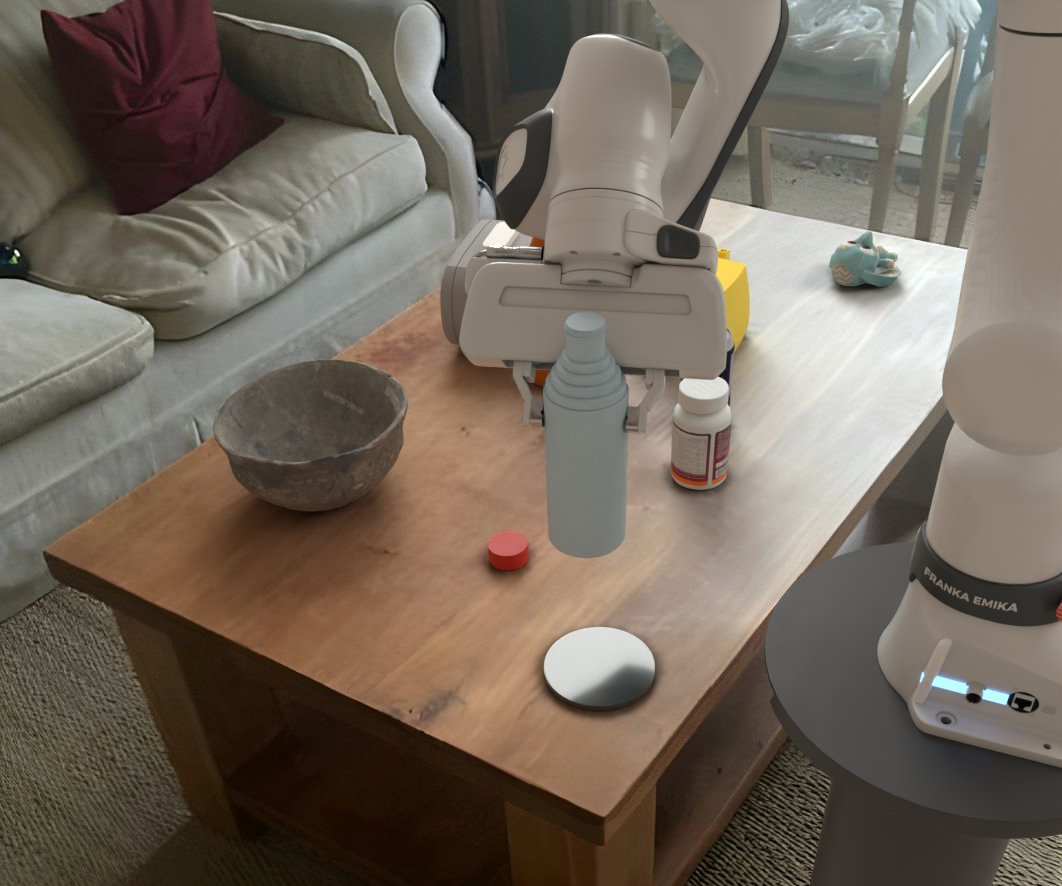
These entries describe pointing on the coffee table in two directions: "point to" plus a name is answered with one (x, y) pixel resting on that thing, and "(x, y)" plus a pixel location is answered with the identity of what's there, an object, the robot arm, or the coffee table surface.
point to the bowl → (313, 432)
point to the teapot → (734, 294)
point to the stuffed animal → (863, 263)
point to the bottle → (586, 443)
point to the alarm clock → (455, 270)
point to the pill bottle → (701, 434)
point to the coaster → (599, 668)
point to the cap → (508, 550)
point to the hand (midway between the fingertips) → (584, 429)
